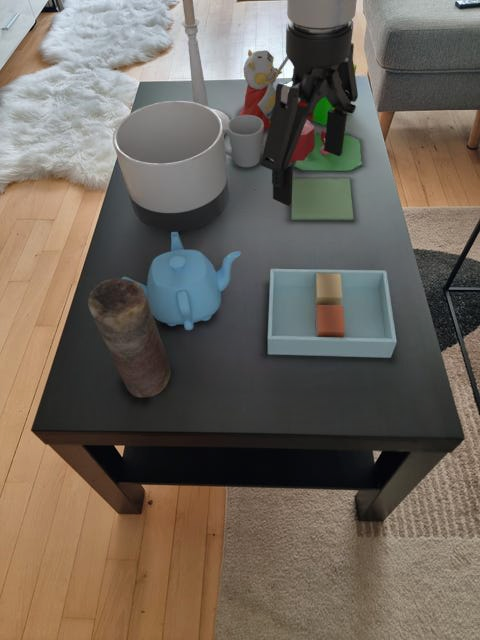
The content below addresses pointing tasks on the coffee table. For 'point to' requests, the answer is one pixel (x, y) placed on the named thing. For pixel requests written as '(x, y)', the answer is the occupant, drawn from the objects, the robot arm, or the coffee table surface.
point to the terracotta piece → (329, 321)
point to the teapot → (185, 285)
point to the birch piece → (328, 290)
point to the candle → (130, 335)
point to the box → (358, 307)
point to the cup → (245, 139)
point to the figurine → (260, 85)
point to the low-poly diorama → (324, 153)
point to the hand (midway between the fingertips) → (308, 175)
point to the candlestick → (197, 60)
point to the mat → (321, 199)
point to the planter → (173, 164)
